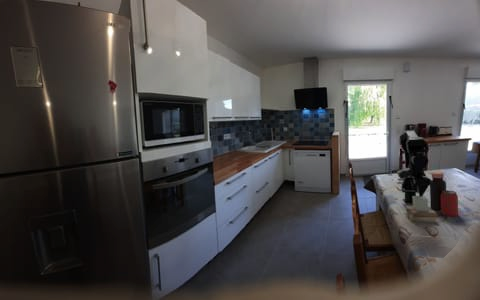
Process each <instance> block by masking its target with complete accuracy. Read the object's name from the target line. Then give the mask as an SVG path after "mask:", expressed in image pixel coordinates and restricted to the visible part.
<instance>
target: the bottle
mask: <svg viewBox="0 0 480 300" xmlns="http://www.w3.org/2000/svg"><path fill="white" fill-rule="evenodd" d="M444 176H445V175H444V172H440V171H434V172H431V179H430V180H431V184H430V185H429V197H430V200H429V201H430V209H432V210H433V211H438V212H439V211H440V212H441V193H442V191H446V190H447V182H446V181H445V180H444Z"/></svg>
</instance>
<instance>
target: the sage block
mask: <svg viewBox="0 0 480 300" xmlns="http://www.w3.org/2000/svg"><path fill="white" fill-rule="evenodd" d="M412 198H413V203H412V206H413V208H414V209H415V210H416V211H428V207H429V202H428V201H429V200H428V198H427V197H426V196H424V195H423V196H422V197H420V196H419V195H416V196H412Z"/></svg>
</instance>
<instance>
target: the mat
mask: <svg viewBox="0 0 480 300" xmlns="http://www.w3.org/2000/svg"><path fill="white" fill-rule="evenodd" d="M404 215H405V216H406V217H407V219H408V220H409V222H410V223H411V224H421V225H422V224H423V225H440V223H439V222H438V221H437V220H436V222H417V221H411V219H410V218H409V216H408V215H407V212H404Z"/></svg>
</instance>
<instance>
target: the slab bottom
mask: <svg viewBox="0 0 480 300" xmlns="http://www.w3.org/2000/svg"><path fill="white" fill-rule="evenodd" d="M406 213H407V215H408V216H409V218H410V219H411V221H417V222H436V221H437V220H436V218H437V217H413V216H412V215H411V214H409V213H408V212H407V211H406Z"/></svg>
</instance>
